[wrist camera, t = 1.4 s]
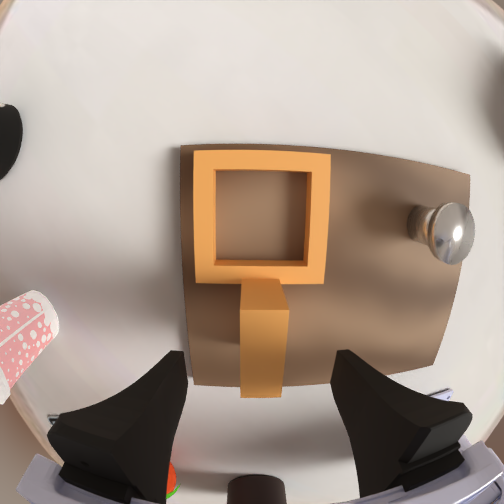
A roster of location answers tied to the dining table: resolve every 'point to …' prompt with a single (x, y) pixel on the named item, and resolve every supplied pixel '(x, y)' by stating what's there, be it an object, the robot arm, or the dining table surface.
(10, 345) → the beverage cup
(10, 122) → the beverage can
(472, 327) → the dining table surface
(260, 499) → the bottle
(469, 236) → the chrome cabinet knob
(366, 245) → the plate
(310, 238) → the orange square hoop tool
